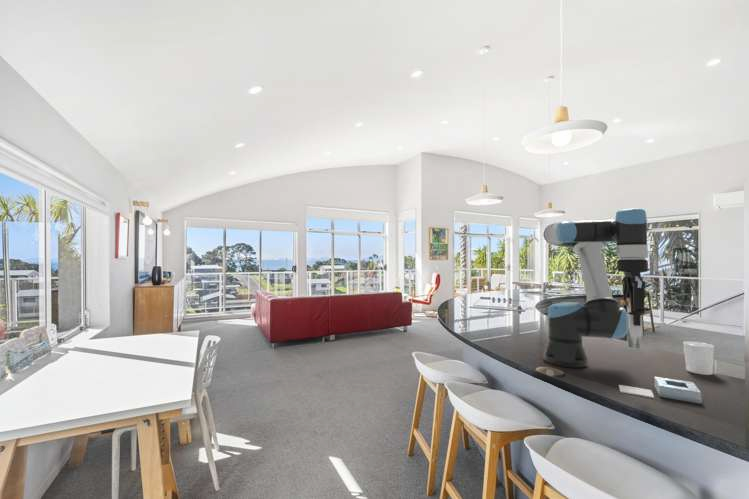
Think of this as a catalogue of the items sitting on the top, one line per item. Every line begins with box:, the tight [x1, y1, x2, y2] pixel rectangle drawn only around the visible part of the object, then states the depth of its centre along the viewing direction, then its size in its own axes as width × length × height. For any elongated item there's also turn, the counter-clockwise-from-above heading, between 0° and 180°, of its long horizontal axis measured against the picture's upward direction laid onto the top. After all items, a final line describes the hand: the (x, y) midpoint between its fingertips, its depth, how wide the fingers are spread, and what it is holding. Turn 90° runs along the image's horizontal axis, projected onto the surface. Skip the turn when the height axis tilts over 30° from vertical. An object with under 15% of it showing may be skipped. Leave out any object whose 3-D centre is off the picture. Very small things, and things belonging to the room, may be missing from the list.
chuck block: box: [654, 376, 703, 404], centre depth 98 cm, size 9×9×3 cm
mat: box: [618, 384, 655, 399], centre depth 100 cm, size 8×6×1 cm
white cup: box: [683, 340, 715, 376], centre depth 118 cm, size 8×8×10 cm
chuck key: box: [620, 298, 647, 349], centre depth 101 cm, size 3×6×15 cm, turn 66°
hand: (634, 334), depth 101 cm, fingers closed on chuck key, 3 cm apart
